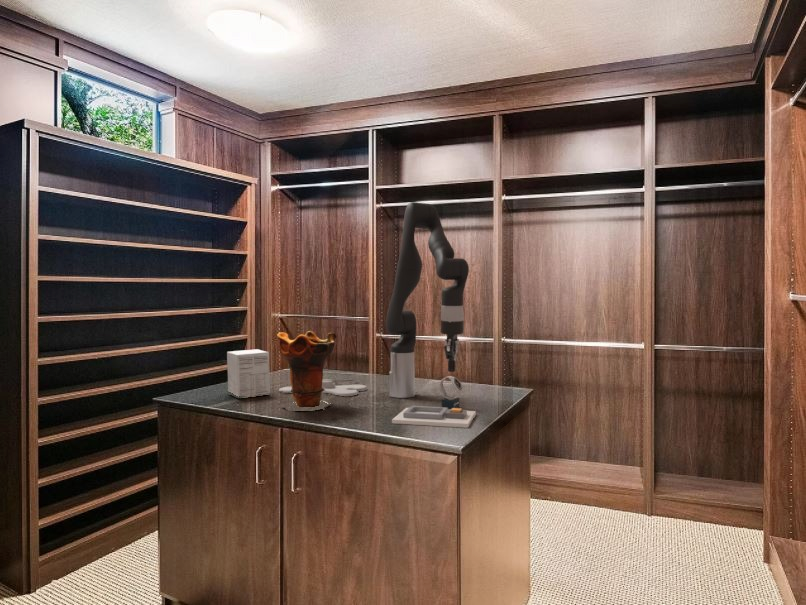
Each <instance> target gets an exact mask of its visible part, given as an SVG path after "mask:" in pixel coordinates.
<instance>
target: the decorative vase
mask: <svg viewBox="0 0 806 605" xmlns="http://www.w3.org/2000/svg"><path fill="white" fill-rule="evenodd" d="M276 337H277V338H278V349H279V352H280V354H281V355H282V356H283V358H284V359H285V360H286V361H287V362H288V369H289V379H290V387H292V389H291V392H292V393H293V394H291V397H292V399H293V400H294V402H295V403H296V405H297V406H299V407H315V406H319V405H320V402H321V401H323V402H325V403H327V404H329V403H328V401H325V400H322V399H321V398H322V391H325V390H324V389H323V388H322V380H323V379H324V366H325V361H326V360H327V359H328V357H329V356H330V355H332V354H333V351H334V349H335V345H336V343H335V340H336V339H337V334H336V332H335V333H334V332H329V333H327V338H326V339H320V338H319V337H318V336H317V334H316V333H315V332H314V331H312V330H309V331H306V332H305V334H299V335H297V337H295V339H290V338H289V334H288V333H286V332H278V333H277V335H276ZM326 396H327V398H329V397H328V395H326ZM330 406H331V405H328V406H326V407H324V408H326V409H327V408H328V407H330Z"/></svg>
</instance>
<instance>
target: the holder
mask: <svg viewBox="0 0 806 605" xmlns="http://www.w3.org/2000/svg"><path fill="white" fill-rule="evenodd" d="M322 388H323V389H324V390H325V391H322V392H326V393H332V394H335V395H340V396H352V395H357V394H358V395H359V392H358V391H363V392H365V391H364V390H366V391H367V390H368V388H367V385H364V384H350V385H349V384H345V385H336V382H335V380H334V379H326V378H325V379H324V378H323V380H322ZM291 389H292V387H291V386H284V387H280V388H279V389H278V392H279V391H283V392H291ZM358 395H357V396H358Z"/></svg>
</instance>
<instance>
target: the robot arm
mask: <svg viewBox="0 0 806 605" xmlns="http://www.w3.org/2000/svg"><path fill="white" fill-rule="evenodd" d="M416 229H421V230H425V229H426V230H428V231H429V232H430V235H429V237H428V240H427V242H428V243H427V246H428V249H429V251H430V253H431V255H432V257H433V259H434V262H435V271H436V275H437V277H438V278H440V279H441V280H444V281H454V282H453V283H452V285H451V286H448V287H447V286H446V287H444V288H443V289H442V290H441V307H440V308H441V309H440V333H441V334H443V335H446V339H445V340H444V346H443V347H444V352H445V359H446V360H447V365H448V366H447V370H448V372H449V373H454V372H456V368H457V367H456V365H457V364H456V362H457V361H456V360H457V358H458V354H459V346H460V339H459V338H458V335H463V334H464V332H465V331H464V328H465V326H464V325H465V324H464V323H465V322H464V320H465V318H464V316H465V314H464V312H465V311H464V290H465V289H466V288H465V287H466V282H467V281H468V280H467V279H468V276H469V272H470V268H469V264H468V261H467V260H465V259H464V258H459V257H458V258H455V251H454V248H453V247H452V244H451V243H450V242H449V240H448V238H447V236H446V234H445V232H444V228H443V225H442V221H441V219H440V215H439V213H438V210H437V209H436V207H435V206H434V205H433V204H430V203H424V202H415V201H411V202H409V203H408V204H407V205H406V208H405V211H404V218H403V225H402V236H401V244H400V245H401V246H400V250H399V251H400V252H399V257H398V261H397V267H396V272H395V280H394V284H393V290H392V296H391V298H390V301H389V306H388V309H387V313H386V317H385V329H386V331H387V333H388V334H389V335H392V336H399V335H400V337H399V339H398V340H397V341H395V342H393V343H392V344H391V345H390V371H389V373H388V374H389V375H388V376H389V378H388V380H389V381H388V382H389V383H388V384H389V386H388V387H389V397H392V398H396V399H399V398H400V399H407V398H413V397H415V394H416V388H415V386H416V384H415V383H416V382H415V380H416V379H415V378H416V377H415V348H416V347H415V346H416V342H417V341H416V340H417V339H416V338H417V337H416V336H417V319H416V315H415V313H414V312H413V311H411V310H404V307H405V303H406V301H407V300H408V298H409V297H410V295H411V294H412V293H413V292H414V290H415V289H416V288H417V286H418V284H419V282H420V280H421V275H422V271H423V270H422V269H423V260H422V258H421V256H420V253H419V250H418V249H417V245H416V242H415V240H416V239H415V231H416Z"/></svg>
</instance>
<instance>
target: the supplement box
mask: <svg viewBox="0 0 806 605" xmlns="http://www.w3.org/2000/svg"><path fill="white" fill-rule="evenodd" d="M226 359H227V360H226V361H227V362H226V364H227V365H226V366H227V392H228V391H229V392H231V393H233V394H234V395H236V396H238V397H239V396H248V395H258V394H266V393H271V392H270V390H271V389H270V388H271V387H270V382H271V381H270V352H269V351H265V350H261V349H259V348H256V349H254V348H253V349H244V350H233V351H227V352H226Z"/></svg>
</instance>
